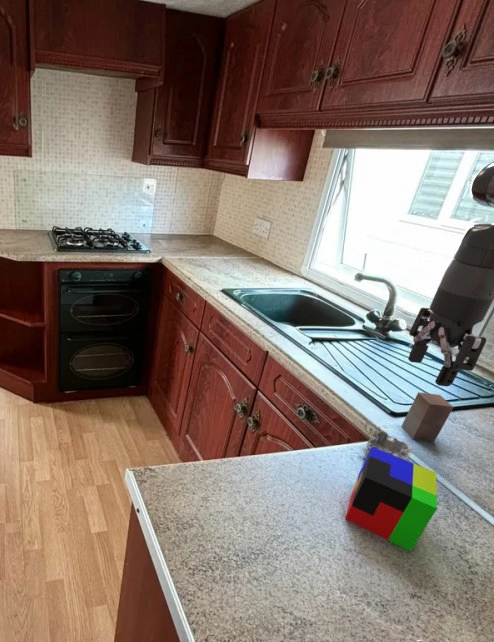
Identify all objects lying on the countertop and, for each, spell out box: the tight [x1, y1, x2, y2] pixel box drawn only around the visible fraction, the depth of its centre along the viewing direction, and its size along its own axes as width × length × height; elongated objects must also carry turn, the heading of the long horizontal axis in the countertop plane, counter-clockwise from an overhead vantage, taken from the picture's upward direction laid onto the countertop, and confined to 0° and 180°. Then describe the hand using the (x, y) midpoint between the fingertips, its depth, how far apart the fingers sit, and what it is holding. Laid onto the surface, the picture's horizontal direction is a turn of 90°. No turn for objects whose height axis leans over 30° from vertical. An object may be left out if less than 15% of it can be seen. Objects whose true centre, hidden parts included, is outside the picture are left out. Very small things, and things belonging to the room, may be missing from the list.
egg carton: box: [362, 426, 413, 461], centre depth 87 cm, size 11×8×4 cm
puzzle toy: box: [344, 447, 438, 552], centre depth 71 cm, size 10×10×10 cm
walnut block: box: [401, 391, 454, 443], centre depth 95 cm, size 5×5×10 cm
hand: (427, 372), depth 75 cm, fingers open, 8 cm apart
